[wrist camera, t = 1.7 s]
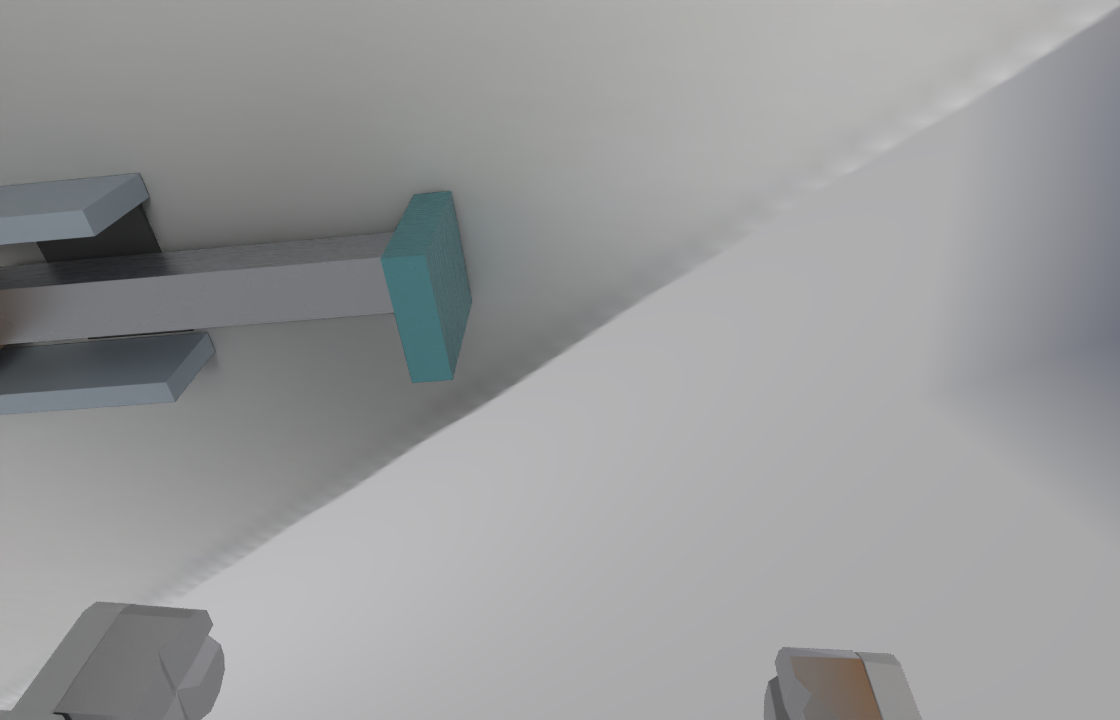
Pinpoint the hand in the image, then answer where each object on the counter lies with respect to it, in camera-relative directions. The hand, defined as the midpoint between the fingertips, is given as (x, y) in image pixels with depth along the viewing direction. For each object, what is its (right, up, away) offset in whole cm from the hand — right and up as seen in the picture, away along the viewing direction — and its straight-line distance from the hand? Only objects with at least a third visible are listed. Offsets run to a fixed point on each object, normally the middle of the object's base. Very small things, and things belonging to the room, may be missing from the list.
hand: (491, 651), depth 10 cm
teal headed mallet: (-13, +8, +20) cm, 25 cm away
